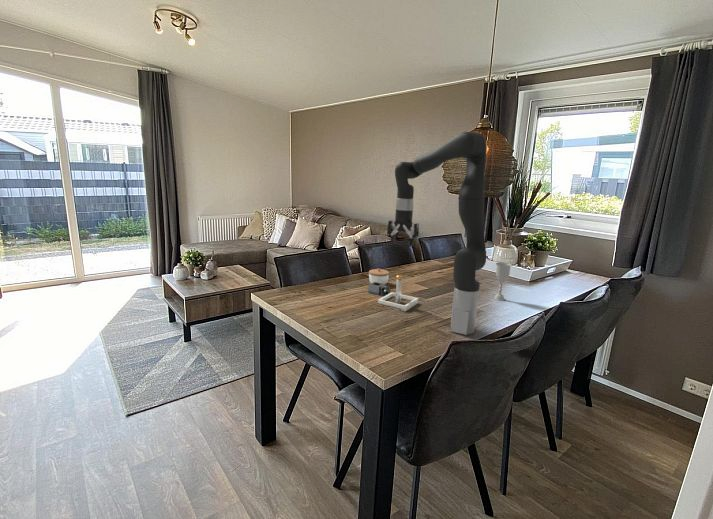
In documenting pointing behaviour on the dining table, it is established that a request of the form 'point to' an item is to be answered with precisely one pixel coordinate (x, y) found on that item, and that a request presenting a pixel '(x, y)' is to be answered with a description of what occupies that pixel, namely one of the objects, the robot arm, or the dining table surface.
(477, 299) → the robot arm
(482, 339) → the dining table surface
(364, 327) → the dining table surface
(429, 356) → the dining table surface
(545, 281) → the dining table surface
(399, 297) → the pin
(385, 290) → the block
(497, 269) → the chalice
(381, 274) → the lidded jar
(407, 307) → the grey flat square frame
